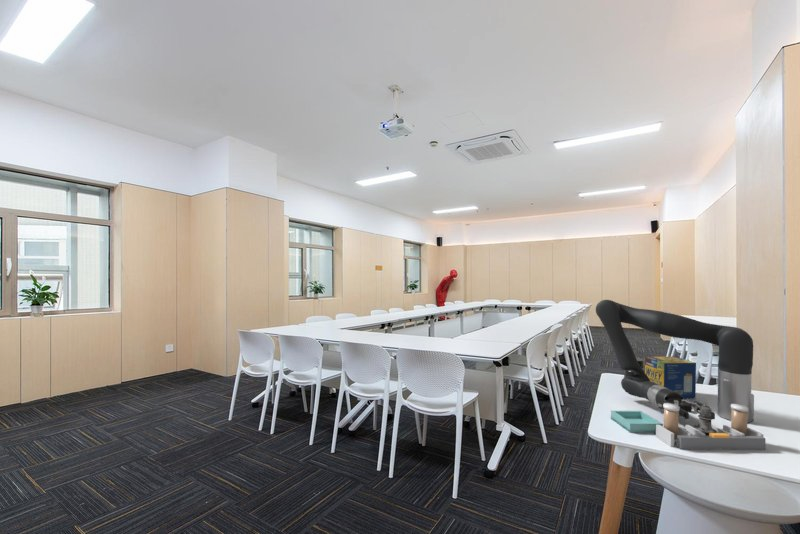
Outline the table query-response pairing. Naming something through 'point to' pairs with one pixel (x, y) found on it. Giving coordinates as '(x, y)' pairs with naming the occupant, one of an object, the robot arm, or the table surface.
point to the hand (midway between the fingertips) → (700, 416)
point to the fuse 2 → (739, 418)
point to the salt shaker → (705, 420)
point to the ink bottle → (629, 372)
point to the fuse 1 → (671, 418)
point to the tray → (635, 421)
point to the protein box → (673, 374)
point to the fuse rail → (712, 438)
